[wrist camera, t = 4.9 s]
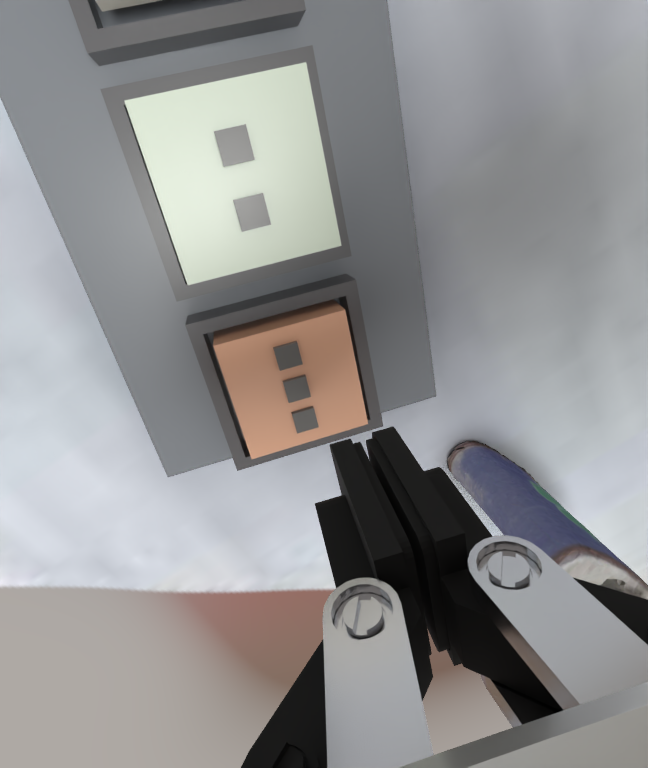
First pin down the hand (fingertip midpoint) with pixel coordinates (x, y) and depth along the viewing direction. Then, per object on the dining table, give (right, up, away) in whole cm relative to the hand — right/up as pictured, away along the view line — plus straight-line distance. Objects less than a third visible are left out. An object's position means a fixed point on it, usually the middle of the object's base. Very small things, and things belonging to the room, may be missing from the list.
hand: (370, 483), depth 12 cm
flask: (+9, -3, +16) cm, 19 cm away
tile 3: (-3, +3, +8) cm, 9 cm away
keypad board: (-5, +10, +6) cm, 13 cm away
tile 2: (-4, +9, +3) cm, 11 cm away
